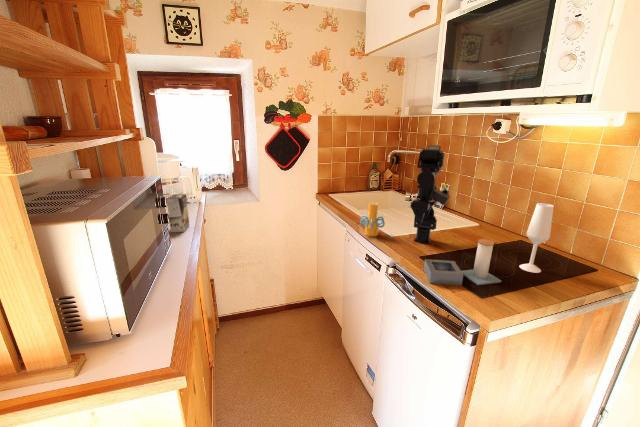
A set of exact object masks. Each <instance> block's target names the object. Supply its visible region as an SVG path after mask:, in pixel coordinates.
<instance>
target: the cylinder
mask: <svg viewBox="0 0 640 427" xmlns="http://www.w3.org/2000/svg"><path fill="white" fill-rule="evenodd" d="M378 208H379V203H378V202H369V203H368V213H367V214H368V215H366V214H363V215H362V216H360V221H359V222H360V226H361V227H363V228H364V227H365V228H364V229H365V230H364V235H365V236H366V237H372V238H373V237H377V236H378V235H379V228H380V229H381V228H384V227H385V225H386V224H385V219H384V217H383V216H382V215H379V216H378V210H379V209H378ZM364 220H366V221H364ZM379 221H381V222H379Z"/></svg>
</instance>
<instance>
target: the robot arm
mask: <svg viewBox="0 0 640 427" xmlns="http://www.w3.org/2000/svg"><path fill="white" fill-rule="evenodd" d="M444 161H445V153H444V151H442V147H441V146H440V145H436V144H435V145H432V144H430V145H428V146H427V148H422V149H421V151H420V152H419V155H418V161H417V169H420V172H419V173H418V175H417V177H416V182H417V189H418V192H417V195H416V198H415V199H414V200H412V201H411V202H410V205H409V206H410V207H409V208H410V209H411V210H412V212H413V215H414V219H413V220H414V222H413V228H416V234H415V237H414V239H413V241H414V242H417V243H423V244H426V245H427V244H430V242H431V241H432V238H431V232H432V231H434V230H436V229H437V221H438V220H437V216H435V210H434V208H433V206H434V205H435V204H436V203H437V202H438V203H440V205H442V206H445V205H446V204H447V203H448V201H449V199H450V197H451V196H450V194H449V190H448V189H446V188H445V189H443V190H439V189H437V187H438V186H437V184H436V180H437V176H439V174H440V173H441V170H442V167H444Z"/></svg>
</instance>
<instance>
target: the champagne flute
mask: <svg viewBox="0 0 640 427" xmlns="http://www.w3.org/2000/svg"><path fill="white" fill-rule="evenodd" d="M554 207H555V206H554V205H553V204H550V203H544V202H542V203H541V202H537V203H536V205H535V208H534V211H533V214H532V217H531V219H530V222H529V225H528V228H527V231H526V236H527V238H528V239H529V240H530V242H532V244H533V245H532V251H531V254H530V259H529V263H523V264H520V265H518V266H519V268H520V269H521V270H523V271H526V272H530V273H536V274H538V273H541V272H542V270H541V269H540V268H539V267H538V266H537V265H536V264H534V263H535V258H536V254H537V250H538V245H541V244H543V243H545V242H547V241H548V240H549V239H550V238H551V231H552V230H551V229H552V222H553V216H554V215H553V214H554Z"/></svg>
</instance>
